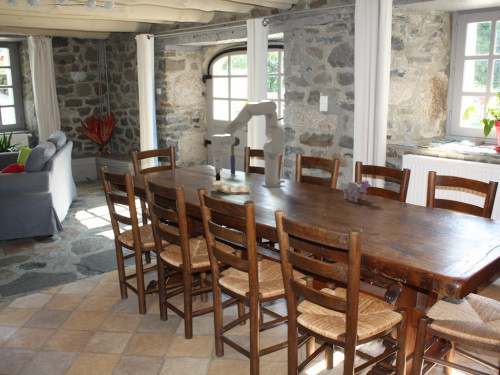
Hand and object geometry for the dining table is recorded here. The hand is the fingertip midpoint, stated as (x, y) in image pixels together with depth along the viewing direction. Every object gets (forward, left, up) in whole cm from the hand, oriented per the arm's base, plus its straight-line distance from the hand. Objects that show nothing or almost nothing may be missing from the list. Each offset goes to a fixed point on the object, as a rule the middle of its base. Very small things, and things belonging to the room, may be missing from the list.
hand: (218, 180), depth 332 cm
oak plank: (-1, 0, -5) cm, 5 cm away
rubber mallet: (-14, -62, -8) cm, 64 cm away
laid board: (-14, 0, -8) cm, 16 cm away
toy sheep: (-85, +39, -8) cm, 93 cm away
